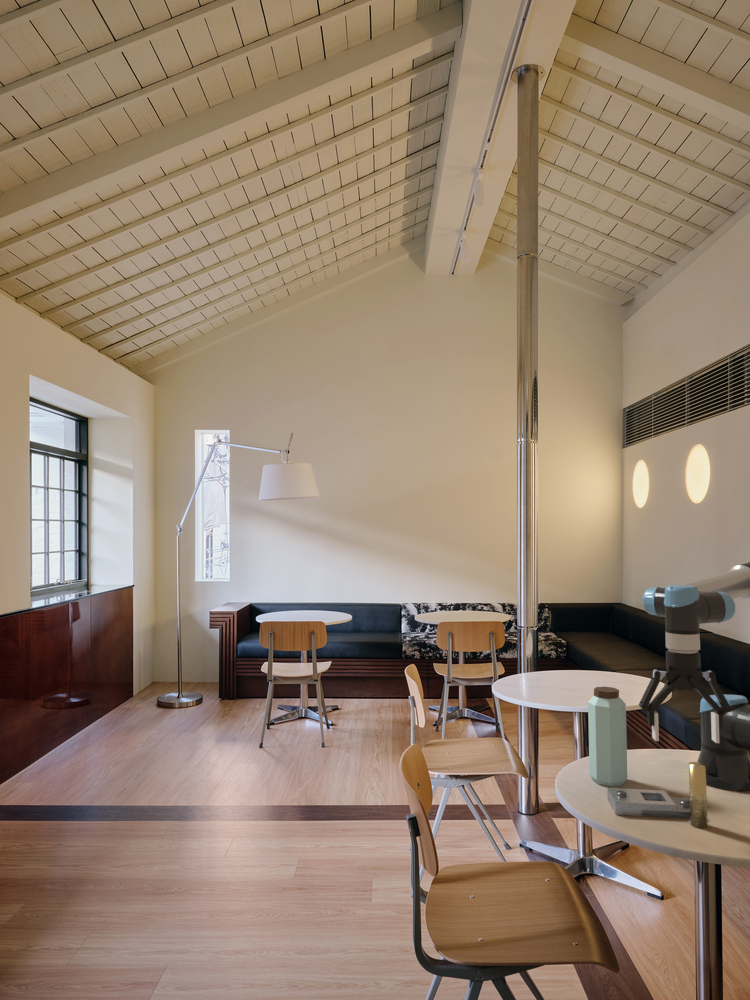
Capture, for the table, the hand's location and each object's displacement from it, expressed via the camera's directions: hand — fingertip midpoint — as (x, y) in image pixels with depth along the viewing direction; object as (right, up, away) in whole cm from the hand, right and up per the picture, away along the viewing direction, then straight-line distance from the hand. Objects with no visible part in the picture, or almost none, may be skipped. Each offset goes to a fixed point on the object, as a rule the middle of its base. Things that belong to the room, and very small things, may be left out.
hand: (685, 740), depth 156 cm
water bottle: (-9, -21, +25) cm, 34 cm away
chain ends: (-5, -20, +7) cm, 21 cm away
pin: (+2, -19, -2) cm, 19 cm away
